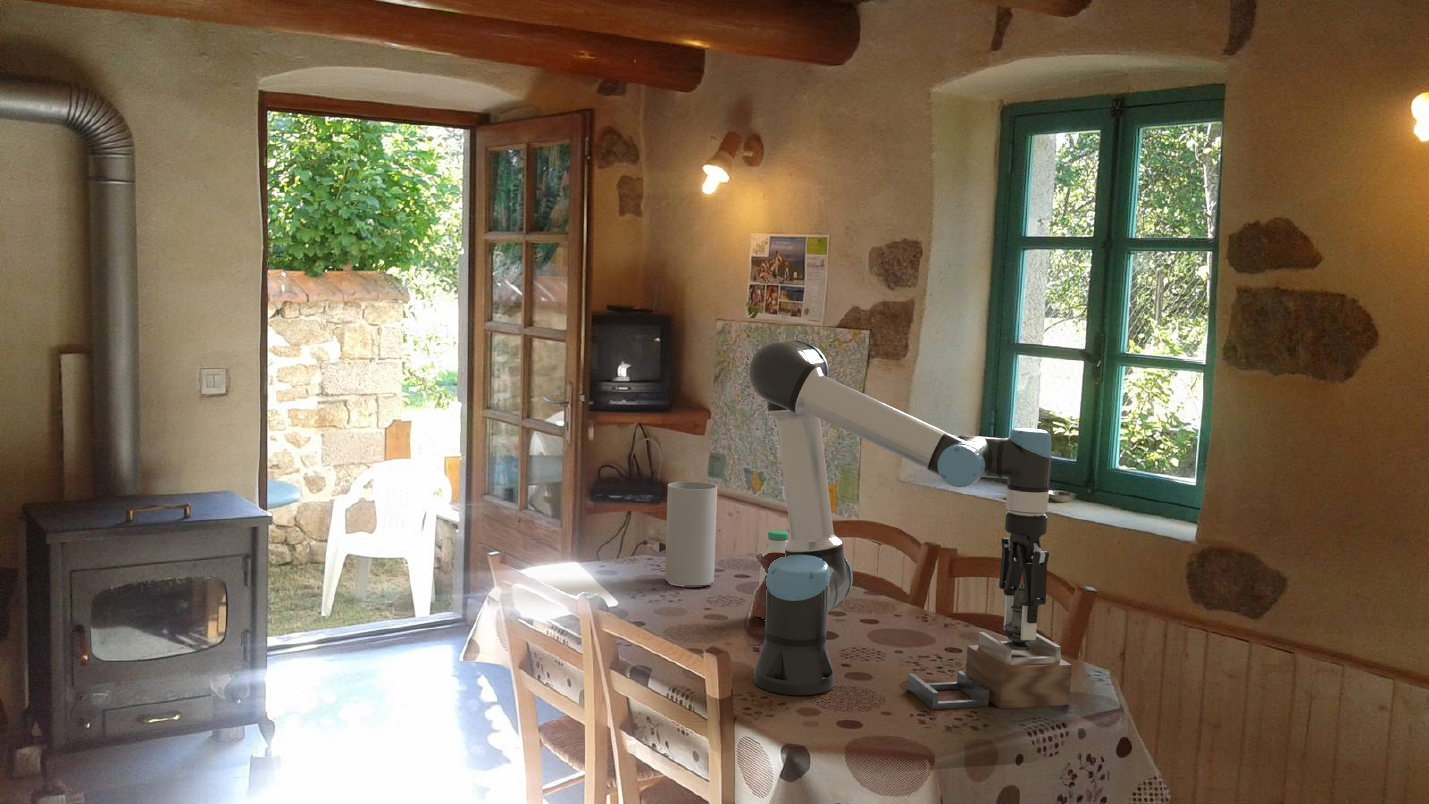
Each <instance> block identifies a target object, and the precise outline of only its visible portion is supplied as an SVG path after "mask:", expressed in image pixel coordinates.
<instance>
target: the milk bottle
mask: <svg viewBox="0 0 1429 804" xmlns="http://www.w3.org/2000/svg"><path fill="white" fill-rule="evenodd" d="M767 538H768V539H767V541H768V547H767V549H766V551H765V554H764V556H765V555H766V554H768V553H772V552H783V553H785V546H786V545H787V544H788V543H789V532H788V531H785V530H777V529H775V530H768V533H767ZM765 576H766V572H765V569H764V568H763V567H762V565H761V564H760V569H759V580H758V581H759V583H758V587H759V586H760V585H761V584H762V582H763V580H764V578H765Z"/></svg>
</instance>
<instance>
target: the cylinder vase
mask: <svg viewBox="0 0 1429 804" xmlns="http://www.w3.org/2000/svg"><path fill="white" fill-rule="evenodd" d="M666 498H667V499H666V533H665V534H666V536H665V562H664V567H665V568H664V580H665V579H666V580H667V581H668V582H671V583H673V584H678V585H706V584H709V583H711V582H713V581H714V582H715V563H716V534H717V533H716V532H717V508H718V507H717V506H718V504H717V503H718V485H716V484H715V483H712V482H711V483H708V482H702V481H701V482H700V481H674V482H670V483H668V484H667V497H666ZM714 582H713V583H714Z"/></svg>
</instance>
